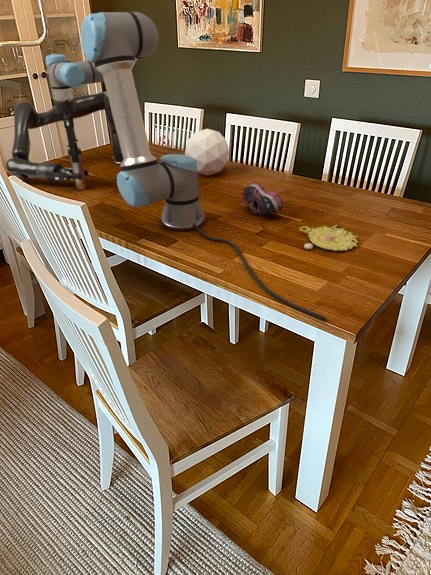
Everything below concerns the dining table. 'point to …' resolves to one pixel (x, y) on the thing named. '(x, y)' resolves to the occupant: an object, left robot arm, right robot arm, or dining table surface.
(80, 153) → the lid
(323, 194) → the dining table surface
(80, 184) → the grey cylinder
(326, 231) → the decorative object
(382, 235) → the dining table surface
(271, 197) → the athletic shoe
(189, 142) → the sphere
